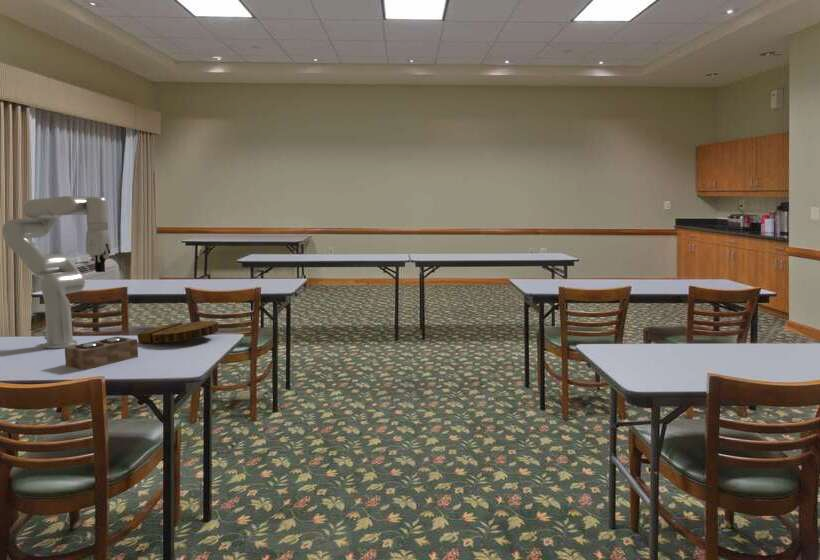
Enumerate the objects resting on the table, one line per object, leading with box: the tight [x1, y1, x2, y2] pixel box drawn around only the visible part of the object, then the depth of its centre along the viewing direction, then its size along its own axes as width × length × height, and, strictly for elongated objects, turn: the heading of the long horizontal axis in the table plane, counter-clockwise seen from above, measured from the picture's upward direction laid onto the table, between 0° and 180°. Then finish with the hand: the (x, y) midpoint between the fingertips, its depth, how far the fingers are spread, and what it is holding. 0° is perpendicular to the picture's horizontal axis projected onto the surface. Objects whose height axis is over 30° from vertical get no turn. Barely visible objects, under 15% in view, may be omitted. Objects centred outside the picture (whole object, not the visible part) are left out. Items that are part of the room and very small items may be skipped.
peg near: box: [82, 342, 96, 347], centre depth 222 cm, size 4×4×8 cm
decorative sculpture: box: [137, 320, 219, 344], centre depth 265 cm, size 30×7×30 cm
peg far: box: [107, 337, 120, 341], centre depth 231 cm, size 4×4×8 cm
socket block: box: [64, 336, 139, 371], centre depth 227 cm, size 12×22×8 cm, turn 153°
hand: (100, 271), depth 241 cm, fingers closed
